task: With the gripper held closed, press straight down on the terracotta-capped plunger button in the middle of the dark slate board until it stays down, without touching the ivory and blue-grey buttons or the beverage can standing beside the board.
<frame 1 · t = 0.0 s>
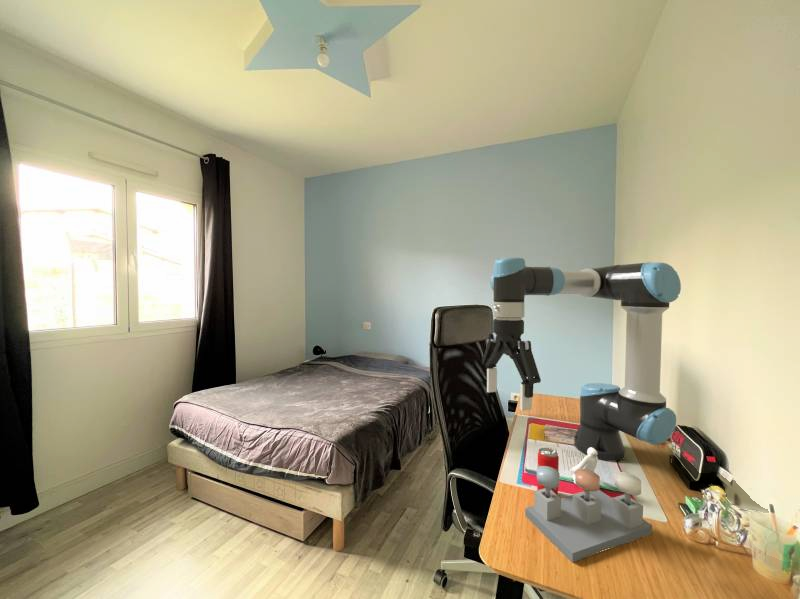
hand: (507, 400, 80), 28 cm above the table, fingers open, 13 cm apart
terracotta button: (587, 488, 74), point 9 cm above the table, slide at 0.0 cm
beverage can: (547, 495, 86), on the table
figurine: (583, 484, 90), on the table
ivory button: (627, 492, 73), point 9 cm above the table, slide at 0.0 cm
slate button: (547, 485, 76), point 9 cm above the table, slide at 0.0 cm
button board: (586, 524, 75), on the table
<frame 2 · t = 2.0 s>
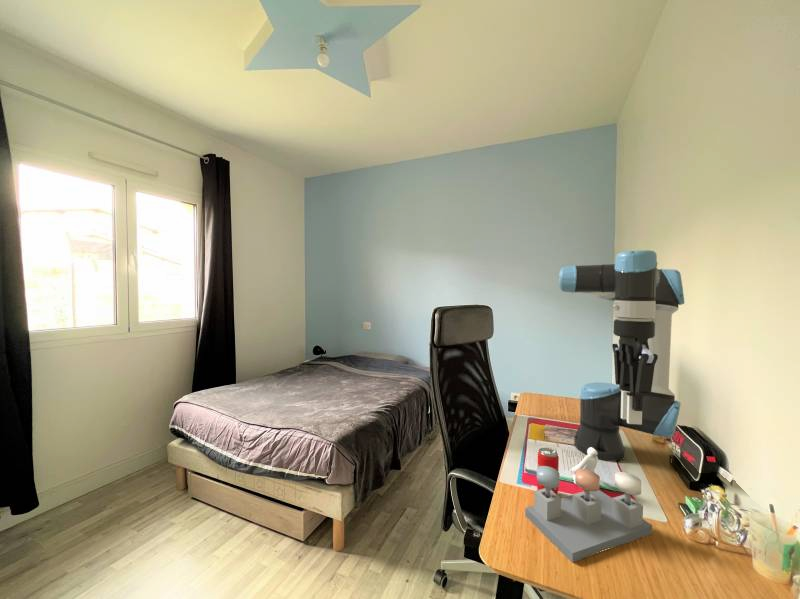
hand: (631, 420, 71), 26 cm above the table, fingers closed
nothing on the table moved.
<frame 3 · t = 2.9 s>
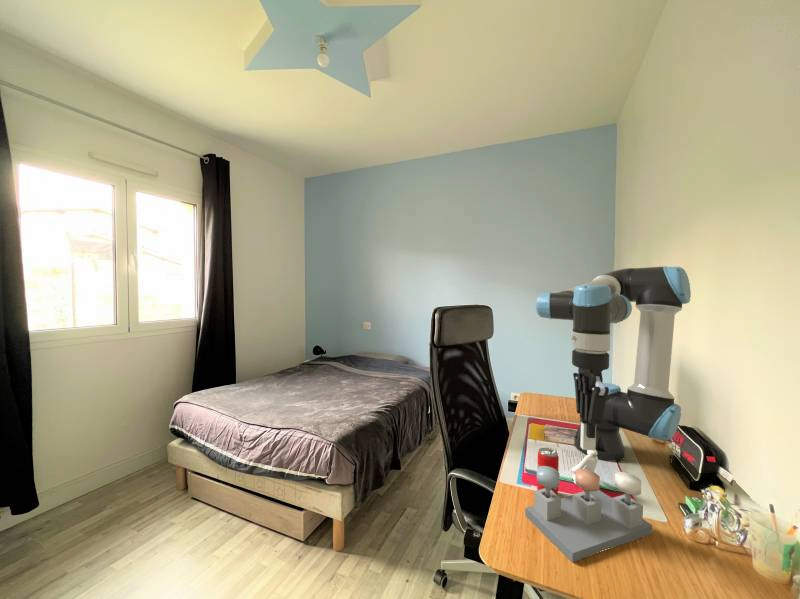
hand: (587, 448, 74), 19 cm above the table, fingers closed
nothing on the table moved.
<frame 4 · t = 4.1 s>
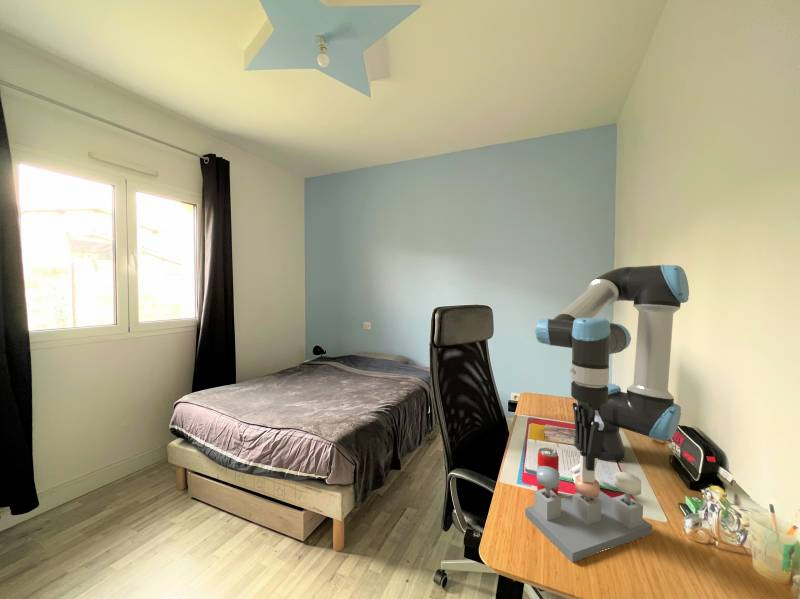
hand: (586, 480, 74), 11 cm above the table, fingers closed
terracotta button: (586, 495, 75), point 7 cm above the table, slide at 1.5 cm, touching gripper
everything else where it was.
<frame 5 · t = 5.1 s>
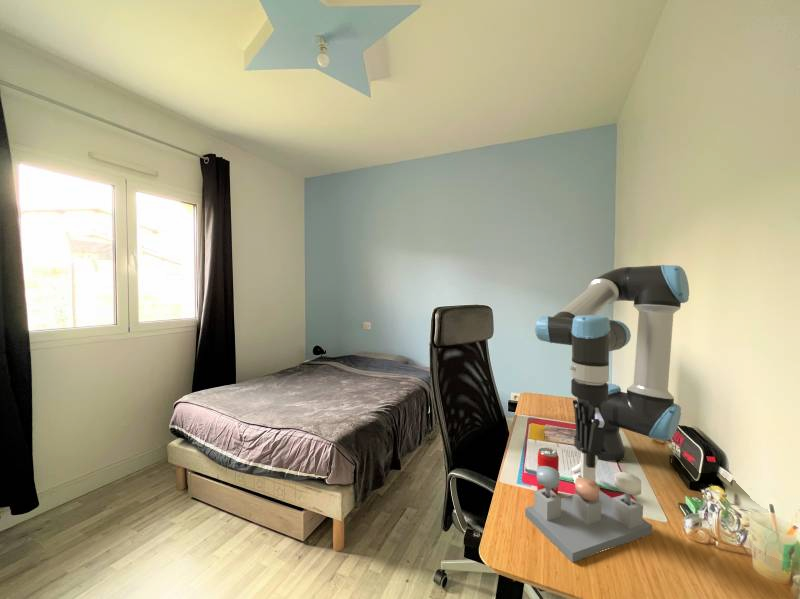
hand: (587, 477, 74), 12 cm above the table, fingers closed
terracotta button: (586, 497, 75), point 7 cm above the table, slide at 2.2 cm
everything else where it was.
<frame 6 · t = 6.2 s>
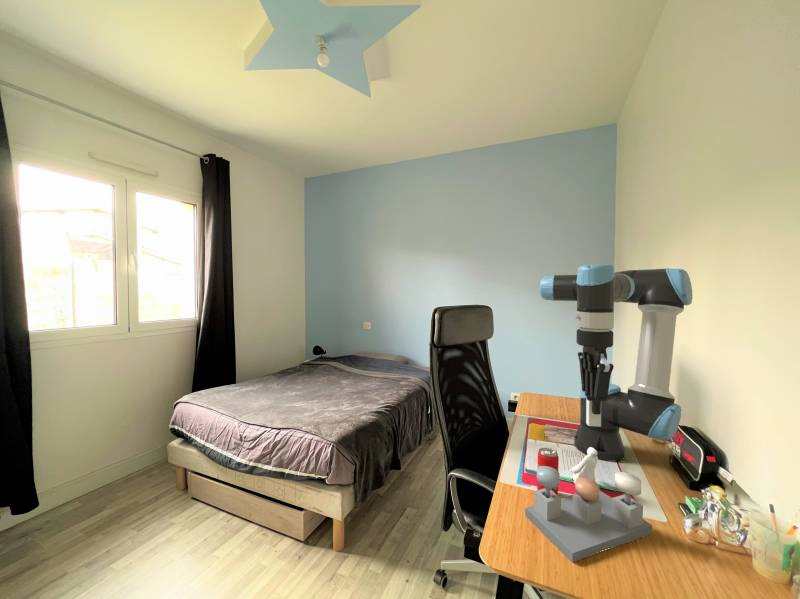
hand: (593, 424, 76), 24 cm above the table, fingers closed
nothing on the table moved.
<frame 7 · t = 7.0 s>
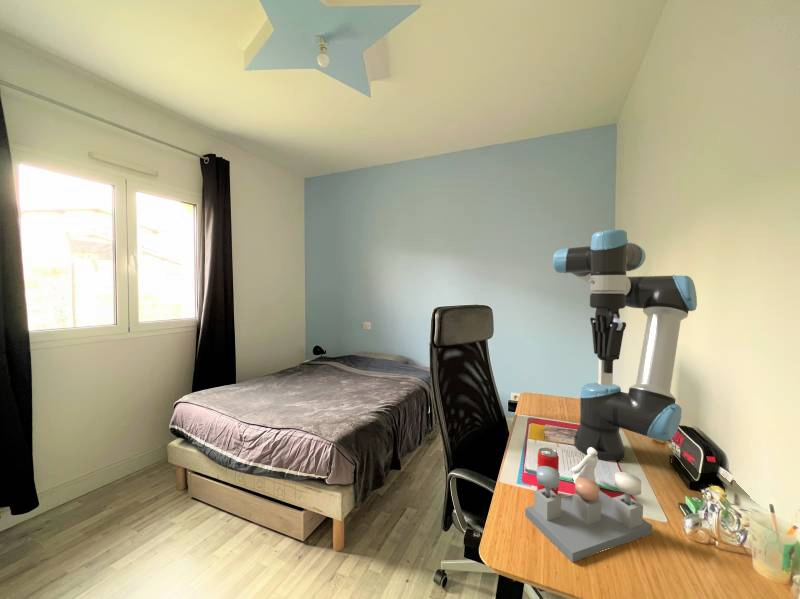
hand: (605, 384, 79), 32 cm above the table, fingers closed
nothing on the table moved.
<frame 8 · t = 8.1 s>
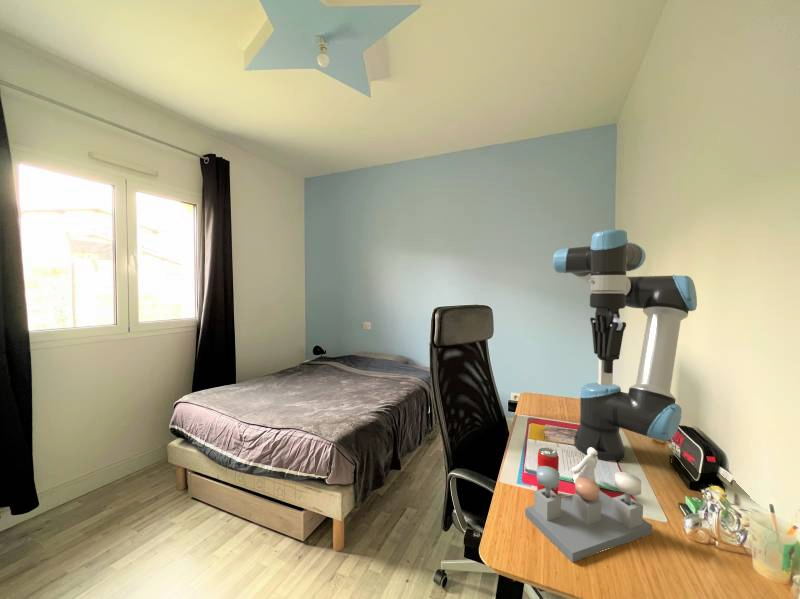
hand: (605, 384, 79), 32 cm above the table, fingers closed
nothing on the table moved.
at the end: terracotta button slide at 2.2 cm; ivory button slide at 0.0 cm; slate button slide at 0.0 cm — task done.
